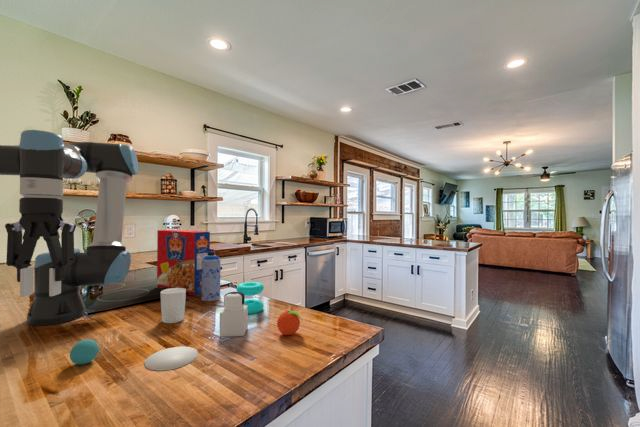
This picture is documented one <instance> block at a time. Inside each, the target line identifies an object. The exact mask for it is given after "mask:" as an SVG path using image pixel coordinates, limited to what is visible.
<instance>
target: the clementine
mask: <svg viewBox="0 0 640 427" xmlns="http://www.w3.org/2000/svg"><path fill="white" fill-rule="evenodd" d="M300 320H301V321H303V320H302V317H301V316H300V314H298V313H297V312H295V311H293V310H285V311H283V312H281V314H280V315H279V316H278V318H277V322H276V326H277V328H278V331H279V332H280V333H281V334H283V335H284V336H291V335H294V334H295V333H296V332H297V331H298V330H299V329H300V325H301V321H300Z"/></svg>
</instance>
